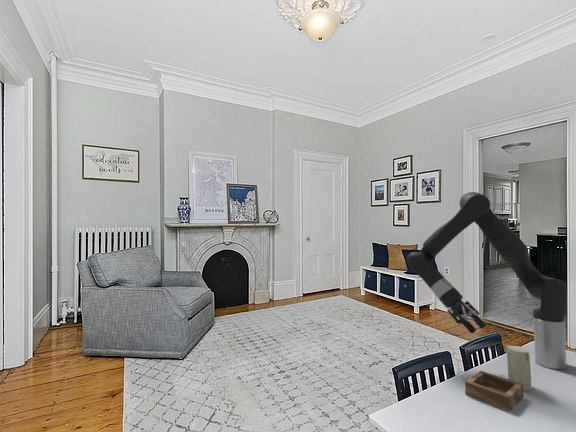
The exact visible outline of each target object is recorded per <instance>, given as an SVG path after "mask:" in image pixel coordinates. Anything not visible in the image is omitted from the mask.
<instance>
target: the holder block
mask: <svg viewBox="0 0 576 432" xmlns="http://www.w3.org/2000/svg"><path fill="white" fill-rule="evenodd" d="M464 387H465V390H464V393H465V396H468V397H471V398H474V399H476V400H479V401H481V402H483V403H487V404H490V405H491V406H493V407H497V408H499V409H502V410H504V411H507V412H512V410H513V409H514V408H515V407H516V406H517V405H518V404H519V403H520V402H521V401H522V400H523V398H524V397H525V396H524V390H523V384H521V383H518V382H515V381H511V380H508V378H505V377H502V376H498V375H495V374H492V373H489V372H485V371H483V370H479V371H478V372H476V373H475V374H474V375H472V376H471V377H469V378H468V379H466V380H465V381H464Z"/></svg>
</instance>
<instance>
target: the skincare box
mask: <svg viewBox="0 0 576 432" xmlns="http://www.w3.org/2000/svg"><path fill="white" fill-rule="evenodd" d="M505 347H506V361H507V362H506V363H507V376H508V378H507V379H508V380H511V381H515V382H518V383H521V384H523V391H527V392H532V390H533V389H532V375H531V373H532V371H531V359H530V352H529V351H528V350H526V349H525V348H523V347H522V346H517V345H506V346H505Z"/></svg>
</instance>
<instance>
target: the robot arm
mask: <svg viewBox="0 0 576 432" xmlns="http://www.w3.org/2000/svg"><path fill="white" fill-rule="evenodd" d="M459 207H460V209H459V210H458V211H457V213H456V214H455V215H454V216H453V217H451V219H449V220H447V222H446V223H444V224H443V225H441V226H440V227H438V228H437V229H436V230H435V231H434V232H433V233H431V234H430V236H428V238H427V239H426V240H425V241H424V242H423V244H422V248H420V250H419V251H414V252H410V253H409V254H408V255H407V256H406V263H407V265H408V267H409V268H410V269H411V270H412V271H413V272H414V273H415V274H416V275H417V276H419V277H420V278H421V279H422V280H423V282H424V283H425V284H426V285H427V286H428V287H429V289H430V290H431V292H432V293H433V294H434V295H435V296H436V298H438V300H439V301H440V302H441V303H442V305H444V307H445V308H446V309H447V313H448V314H449V315H450V316H451V317H452V319H454V321H455V322H456V323H457V325H460V324H461V325H462V326H464V327H465V328H466V330H467V331H468V332H469V333H470V334H474V333H475V332H476V331H477V329H476V327H475V326H474V325H473V324H472V323H471V321H469V319H468V318H470V319H471V320H473V321H474V322H475V323H476V325H477V326H478V327H479V328H480V329H484V328H485V327H486V326H487V324H486V323H485V321H483V320H482V318H480V312H479V311H478V310H477V309H476V308H475V307H474V306H473V305H472V304H471V303H470V302H469V301H468V300H467V301H465V302H464V301H463V299H464V297H463V295H462V294H461V292H459V290H458V289H457V288H455V286H454V285H453V284H452V283H451V282H450V281H449V280H448V279H446V278H445V276H444V275H443V274H442V273H441V272H440V271H439V270H438V269H437V268H435V267H433V266H432V265H431V264H432V262H433V261H434V259H435V258H436V257H437V255H438V254H439V253H441V252H442V251H443V249H445V248H446V247H447V245H449V244H450V243H451V242H452V241H453V240H454V239H455V238H456V237H457V236H458V235H459V234H460V233H462V232H463V231H464V230H465V229H467V227H469V226H471V224H473V223H475V224H476V225H477V226H478V228H479V229H480V230H481V231H482V233H483V234H484V236H485V238H486V239H487V241H488V242H489V244H491V246H492V247H493V249H494V250H495V251H496V252H497V253H498V255H499V256H500V257H501V258H502V259H503V260H504V262H506V264H507V265H508V266H509V268H511V270H513V272H514V273H515V274H516V276H517V277H518V278H519V280H520V281H521V282H520V283H522V284H523V287H524V288H525V289H526V290H527V291H528V293H529V294H530V295H531V296H532V297H534V298H536V299H538V300H540V307H539V308H538V307H537V308H535V309H533V311H532V320H533V321H532V322H533V341H534V342H533V345H534V361H535V363H536V364H538V365H540V366H542V367H545V368H549V369H554V370H566V369H567V368H566V367H567V350H566V349H567V348H566V347H567V346H566V344H567V343H566V328H565V316H566V314H567V310H568V294H567V293H568V292H567V288H566V285H565V283H564V282H563V281H562V280H560V279H559V278H555V277H551V276H550V277H549V276H546V275H544V274H542V273H541V272H540V271H539V270H538V269H537V268H536V267H535V266H534V264H533V263H532V261H531V258H530V253H529V250H528V247H527V245H526V244H525V243H524V241H523V240H522V239H521V238H520V237H519V235H517V233H516V232H514V230H512V229H511V228H510V227H509V225H507V224H506V223H504V222H503V221H502V220H501V219H500V218H499V217H498V216H497V215H496V214H495V213H494V212H493V210H492V209H491V201H490V199H489V198H488V196H486V195H484V194H482V193H479V192H476V191H470V192H469V191H468V192H467V193H464V194H463V195H462V196H461V197H460V200H459Z"/></svg>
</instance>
